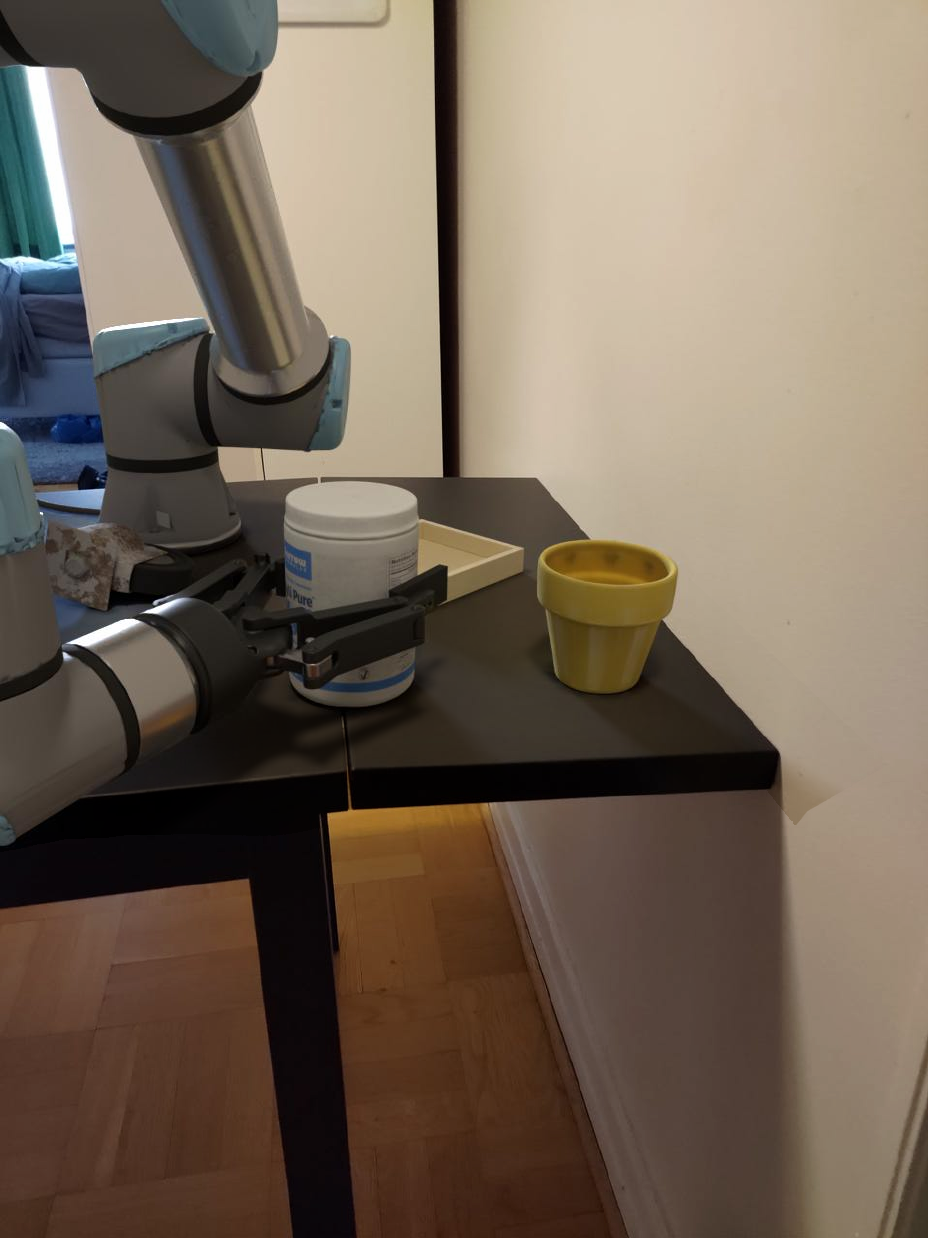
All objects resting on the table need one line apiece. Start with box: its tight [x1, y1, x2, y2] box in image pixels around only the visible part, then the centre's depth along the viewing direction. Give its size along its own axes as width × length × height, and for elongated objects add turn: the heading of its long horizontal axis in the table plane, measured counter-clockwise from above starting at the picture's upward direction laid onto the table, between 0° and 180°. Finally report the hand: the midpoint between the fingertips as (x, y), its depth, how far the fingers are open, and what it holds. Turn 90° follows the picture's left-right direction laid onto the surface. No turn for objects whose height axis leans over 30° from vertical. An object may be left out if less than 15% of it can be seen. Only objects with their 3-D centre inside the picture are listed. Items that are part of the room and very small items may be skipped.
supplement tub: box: [283, 480, 420, 708], centre depth 62 cm, size 10×10×15 cm
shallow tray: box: [417, 518, 525, 607], centre depth 88 cm, size 15×15×3 cm
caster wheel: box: [45, 520, 196, 612], centre depth 80 cm, size 7×11×10 cm
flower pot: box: [536, 539, 679, 695], centre depth 66 cm, size 10×10×10 cm
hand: (386, 568), depth 66 cm, fingers closed on supplement tub, 10 cm apart
